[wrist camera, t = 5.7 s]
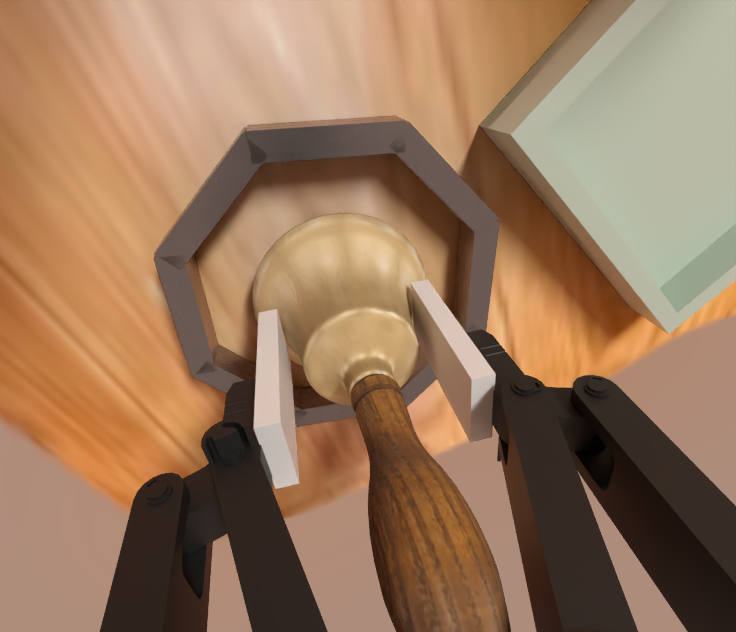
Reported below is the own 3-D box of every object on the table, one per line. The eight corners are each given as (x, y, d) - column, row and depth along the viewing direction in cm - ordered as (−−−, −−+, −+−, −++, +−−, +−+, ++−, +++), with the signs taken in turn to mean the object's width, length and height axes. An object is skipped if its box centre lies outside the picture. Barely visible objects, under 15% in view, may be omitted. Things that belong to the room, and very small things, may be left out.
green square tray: (479, 125, 19) (510, 134, 17) (808, -241, 15) (915, -301, 13) (631, 308, 27) (668, 334, 24) (880, 97, 23) (956, 101, 20)
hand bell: (383, 177, 18) (724, 523, 4) (447, 320, 22) (715, 710, 9) (214, 269, 19) (66, 821, 5) (309, 391, 23) (365, 857, 10)
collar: (111, 310, 20) (98, 330, 19) (315, 29, 16) (319, 26, 15) (349, 434, 28) (354, 455, 26) (532, 259, 24) (550, 273, 22)
